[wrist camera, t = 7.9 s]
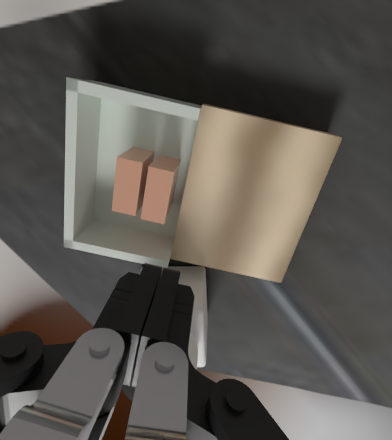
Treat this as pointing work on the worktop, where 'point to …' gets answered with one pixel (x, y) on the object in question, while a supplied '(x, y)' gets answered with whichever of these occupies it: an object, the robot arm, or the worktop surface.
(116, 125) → the box
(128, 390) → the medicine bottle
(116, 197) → the tile
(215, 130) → the wooden slab
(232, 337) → the worktop surface
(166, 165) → the tile
